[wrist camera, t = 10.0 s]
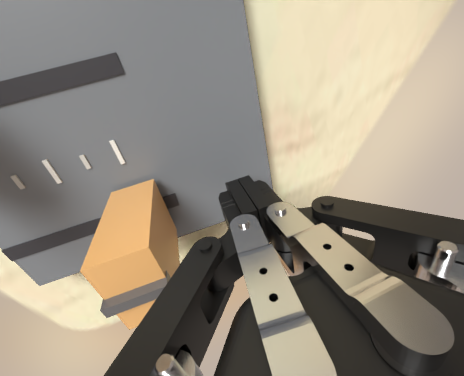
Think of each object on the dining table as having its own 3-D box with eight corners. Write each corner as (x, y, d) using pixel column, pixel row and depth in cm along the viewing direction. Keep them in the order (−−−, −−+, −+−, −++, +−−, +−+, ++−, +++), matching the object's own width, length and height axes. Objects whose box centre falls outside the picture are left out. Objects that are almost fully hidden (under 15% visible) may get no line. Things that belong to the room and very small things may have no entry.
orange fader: (154, 178, 14) (149, 255, 8) (177, 228, 16) (185, 317, 10) (110, 192, 14) (74, 281, 8) (139, 242, 16) (126, 340, 10)
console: (217, -75, 11) (228, -101, 10) (264, 191, 19) (275, 204, 17) (-185, 6, 9) (-267, -8, 8) (51, 264, 17) (38, 287, 15)
